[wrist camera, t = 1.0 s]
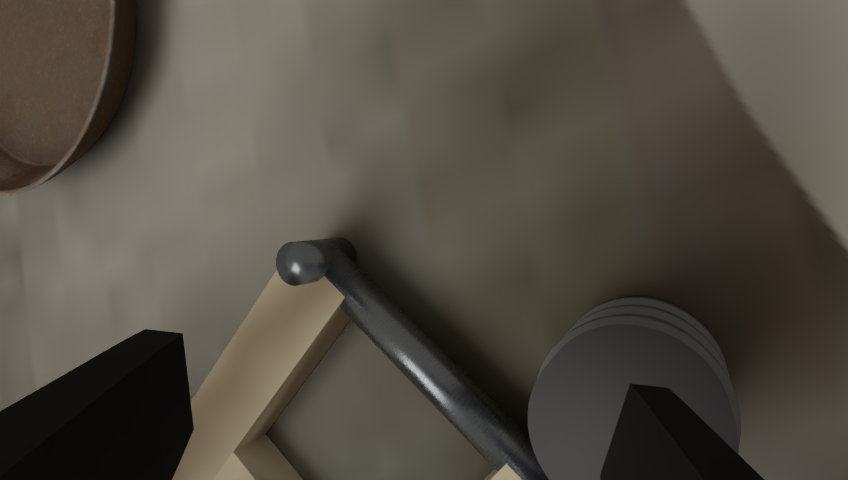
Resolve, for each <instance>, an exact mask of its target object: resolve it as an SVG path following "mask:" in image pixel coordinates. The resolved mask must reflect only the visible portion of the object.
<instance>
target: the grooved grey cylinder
mask: <svg viewBox="0 0 848 480" xmlns="http://www.w3.org/2000/svg"><path fill="white" fill-rule="evenodd" d="M630 384H639V385H648V386H657V387H666V388H669V389H670V390H671V391H673V392H674V393H675V394H676V395H677V396H678V397H679V398H680V399H681V400H682V401H684V402H685V403H686V404H687V405H688V406H689V407H690V408H691V409H692V410H693V411H694V412H695V413H696V414H697V415H698V416H699V417H700V418H701V419H702V420H703V421H704V422H705V423H706V424H707V425H708V426H709V427H711V428H712V429H713V430H714V431H715V432H716V433H717V434H718V435H719V436H720V437H721V438H722V439H723V440H724V441H725V442H726V443H727V444H728V445H729V446H730V447H731V448H732V449H733V450H734V451H735V452H736V453H737V454H738V448H739V442H740V435H741V420H740V413H739V407H738V403H737V400H736V397H735V394H734V390H733V386H732V383H731V379H730V376H729V373H728V369H727V365H726V362H725V359H724V356H723V354H722V351H721V349H720V347H719V345H718V344H717V342H716V341H715V339H714V337H713V336H712V335H711V334H710V332H709V331H708V330H707V329H706V328H705V327H704V326H703V325H702V324H701V323H700V322H699V321H698V320H697V319H696V318H695V317H693V316H692V315H691V314H690V313H688V312H687V311H686V310H684V309H683V308H681V307H679V306H677V305H675V304H673V303H671V302H668V301H666V300H663V299H659V298H655V297H649V296H628V297H622V298H618V299H614V300H610V301H608V302H605V303H602V304H600V305H598V306H596V307H594V308H592V309H591V310H590V311H588V312H587V313H585V314H584V315H583V316H582V317H581V318H580V319H579V320H578V321H577V322H576V323H575V324H574V325H573V327H572V328H571V329H570V330H569V331H568V332H567V333H566V334H565V335H564V337H563V338H562V339H561V340H560V341H559V342H558V343H557V344H556V345H555V346H554V348H553V349H552V350H551V351H550V353H549V354H548V355H547V357H546V359H545V360H544V362H543V364H542V366H541V368H540V371H539V373H538V376H537V380H536V382H535V384H534V387H533V389H532V392H531V396H530V400H529V405H528V430H529V437H530V441H531V444H532V448H533V451H534V453H535V456H536V458H537V460H538V463H539V464H540V466H541V468H542V470H543V471H544V473H545V475H546V476H547V477H548V479H549V480H601V479H600V474H601V471H602V468H603V465H604V461H605V458H606V455H607V452H608V449H609V446H610V443H611V440H612V437H613V434H614V431H615V428H616V425H617V422H618V419H619V416H620V412H621V409H622V406H623V403H624V400H625V397H626V394H627V391H628V388H629V385H630Z"/></svg>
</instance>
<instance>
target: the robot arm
mask: <svg viewBox="0 0 848 480" xmlns="http://www.w3.org/2000/svg"><path fill="white" fill-rule="evenodd" d="M193 430H194V426H193V417H192V409H191V401H190V392H189V384H188V376H187V367H186V359H185V350H184V342H183V334H182V333H174V332H165V331H156V330H147V329H145V330H143V331H141V332H139V333H137V334H135V335H133V336H131V337H129V338H128V339H126V340H124V341H122V342H120V343H119V344H117V345H115V346H113V347H111V348H110V349H108V350H106V351H104V352H103V353H101V354H99V355H98V356H96V357H94V358H92V359H91V360H89V361H87V362H85V363H84V364H82V365H80V366H79V367H77V368H75V369H73V370H72V371H70V372H68V373H67V374H65V375H63V376H61V377H60V378H58V379H56V380H54V381H53V382H51V383H49V384H47V385H46V386H44V387H42V388H40V389H39V390H37V391H35V392H33V393H32V394H30V395H28V396H26V397H25V398H23V399H21V400H19V401H18V402H16V403H14V404H12V405H11V406H9V407H7V408H5V409H3V410H2V411H0V480H172V478H173V476H174V474H175V472H176V470H177V468H178V465H179V463H180V461H181V459H182V456H183V454H184V451H185V449H186V447H187V444H188V442H189V440H190V437H191V435H192V433H193ZM600 479H601V480H764V479H763V478H762V477H761V476H760V475H759V474H758V473H757V472H756V471H755V470H754V469H753V468H752V467H751V466H749V465H748V464H747V463H746V462H745V461H744V460H743V459H742V458H741V457H740V456H739V455H738V454H737V453H736V452H735V451H734V450H733V449H732V448H731V447H730V446H729V445H728V444H727V443H726V442H725V441H724V440H723V439H722V438H721V437H720V436H719V435H718V434H717V433H716V432H715V431H714V430H713V429H712V428H711V427H709V426H708V425H707V424H706V423H705V422H704V421H703V420H702V419H701V418H700V417H699V416H698V415H697V414H696V413H695V412H694V411H693V410H692V409H691V408H690V407H689V406H688V405H687V404H686V403H685V402H684V401H682V400H681V399H680V398H679V397H678V396H677V395H676V394H675V393H674V392H673V391H671V390H670V389H669V388H666V387H657V386H648V385H639V384H630V385H629V388H628V391H627V394H626V397H625V400H624V403H623V406H622V409H621V412H620V416H619V419H618V422H617V425H616V428H615V431H614V434H613V437H612V440H611V443H610V446H609V449H608V452H607V455H606V458H605V461H604V465H603V468H602V471H601V474H600Z"/></svg>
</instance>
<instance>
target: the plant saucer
mask: <svg viewBox="0 0 848 480" xmlns="http://www.w3.org/2000/svg"><path fill="white" fill-rule="evenodd" d="M135 40H136V5H135V0H0V195H12V194H18V193H22V192H25V191H28V190H31V189H33V188H35V187H37V186H39V185H41V184H43V183H45V182H46V181H48V180H50V179H51V178H53V177H55V176H56V175H58V174H59V173H60V172H62V171H63V170H64V169H66V168H67V167H69V166H70V165H71V164H73V163H74V162H75V161H76V160H78V159H79V158H80V157H81V156H82V155H83V154H84V153H85V152H86V151H88V150H89V149H90V148H91V147H92V146H93V144H94V143H95V142H96V141H97V140H98V139H99V138H100V136H101V135H102V134H103V132H104V131H105V130H106V128H107V127H108V125H109V124H110V122H111V120H112V119H113V117H114V115H115V113H116V111H117V109H118V107H119V105H120V103H121V100H122V98H123V95H124V93H125V90H126V86H127V83H128V80H129V76H130V72H131V68H132V63H133V58H134V50H135Z"/></svg>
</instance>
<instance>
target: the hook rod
mask: <svg viewBox="0 0 848 480" xmlns="http://www.w3.org/2000/svg"><path fill="white" fill-rule="evenodd" d="M276 267H277V271H278V274H279V276H280V277H281V279H282V280H283V281H284V282H285V283H287V284H289V285H292V286H298V285H303V284H308V283H313V282H317V281H319V280H320V279H321V278H322V277H323V276H325V277H326V278H327V279H328V280H329V281H330V282H331V283H332V284H333V285H334V286H335V287H336V288H337V289H338V291H339V292H340V293H341V294H342V295H343V296H344V297H345V298H344V300H343V301H342V303H341V309H342V310H343V311H344V312H345V313H346V314H347V315H348V316H349V317H350V318H351V319H352V321H353V322H354V323H355V324H356V325H357V326H358V327H359V328H360V329H361V330H362V331H363V332H364V333H365V334H366V335H367V336H368V337H369V338H370V339H371V340H372V341H373V342H374V343H375V344H376V346H377V347H378V348H379V349H380V350H381V351H382V352H383V353H384V354H385V355H386V356H387V357H388V358H389V359H390V360H391V361H392V362H393V363H394V364H395V365H396V366H397V367H398V368H399V369H400V371H401V372H402V373H403V374H404V375H405V376H406V377H407V378H408V379H409V380H410V381H411V382H412V383H413V384H414V385H415V386H416V387H417V388H418V389H419V390H420V391H421V392H422V393H423V394H424V396H425V397H426V398H427V399H428V400H429V401H430V402H431V403H432V404H433V405H434V406H435V407H436V408H437V409H438V410H439V411H440V412H441V413H442V414H443V415H444V416H445V417H446V418H447V420H448V421H449V422H450V423H451V424H452V425H453V426H454V427H455V428H456V429H457V430H458V431H459V432H460V433H461V434H462V435H463V436H464V437H465V438H466V439H467V440H468V441H469V442H470V443H471V445H472V446H473V447H474V448H475V449H476V450H477V451H478V452H479V453H480V454H481V455H482V456H483V457H484V458H485V459H486V460H487V461H488V462H489V463H490V464H491V465H492V466H493V467H494V468H495V470H496V471H499V470H500V469H501V468H502V467H503V466H504V465H505V464H506V463H507V465H508V466H509V467H510V468H511V469H512V470H513V471H514V472H515V473H516V474H517V475H518V476H519V477H520V478H521V479H522V480H549V479H548V477H547V476H546V475H545V473H544V471H543V470H542V468H541V466H540V464H539V463H538V460H537V458H536V456H535V453H534V451H533V448H532V444H531V441H530V437H529V435H528V434H527V433H526V432H525V431H524V430H523V429H522V428H521V427H520V426H519V425H518V424H517V423H516V422H515V421H514V420H513V419H512V418H511V417H510V416H509V415H508V414H507V413H506V412H505V411H504V410H503V409H502V408H500V407H499V406H498V405H497V404H496V403H495V402H494V401H493V400H492V399H491V398H490V397H489V396H488V395H487V394H486V393H485V392H484V391H483V390H482V389H481V388H480V387H479V386H478V385H477V384H476V383H475V382H474V381H473V380H472V379H471V378H470V377H469V376H468V375H467V374H466V373H465V372H464V371H463V370H462V369H461V368H460V367H459V366H458V365H457V364H456V363H455V362H454V361H453V360H452V359H451V358H450V357H449V356H448V355H447V354H446V353H445V352H444V351H443V350H442V349H441V348H440V347H439V346H438V345H437V344H436V343H435V342H434V341H433V340H432V339H431V338H430V337H429V336H428V335H427V334H426V333H425V332H424V331H423V330H422V329H421V328H420V327H419V326H418V325H417V324H416V323H415V322H414V321H413V320H412V319H411V318H410V317H409V316H408V315H407V314H406V313H405V312H404V311H403V310H402V309H401V308H400V307H399V306H398V305H397V304H396V303H395V302H394V301H393V300H392V299H391V298H390V297H389V296H388V295H387V294H386V293H385V292H384V291H383V290H382V289H381V288H380V287H379V286H378V285H377V284H376V283H375V282H374V281H373V280H372V279H371V278H370V277H369V276H368V275H367V274H366V273H365V272H364V271H363V270H362V269H361V268H360V267H359V266H358V265H357V264H356V252H355V249H354V247H353V245H352V244H351V243H350V242H349V241H348V240H346V239H344V238H331V239H320V240H310V241H299V242H290V243H287V244H285V245H283V246H282V247H281V249H280V250H279V252H278V254H277V258H276Z"/></svg>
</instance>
